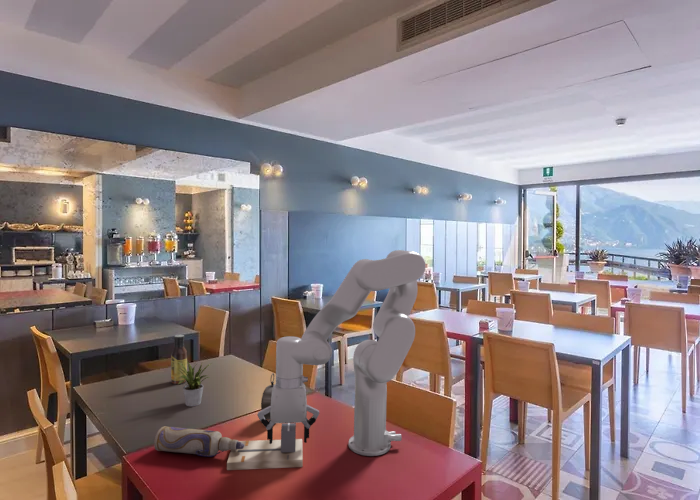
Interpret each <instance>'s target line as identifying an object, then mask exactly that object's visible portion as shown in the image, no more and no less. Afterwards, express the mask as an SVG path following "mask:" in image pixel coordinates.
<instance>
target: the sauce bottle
mask: <svg viewBox="0 0 700 500" xmlns="http://www.w3.org/2000/svg"><path fill="white" fill-rule="evenodd" d="M173 340H174V343H173V348H172V351H171V353H170V380H171V384H173V385H178V384H179V382H180V381H182V380H185V379H182V377H181V376H182V375H183V374H184V375H186V374H187V373H186V374H185V373H184V372H183V371H182V370H184V368H183V366H182V365H181V364H183V365H184V367H185V369H186V370H187V371H188V363H187V361H188V350H187V348H186V347H185V335H184V334H175V335H174V336H173ZM178 362H179V363H178ZM180 363H181V364H180ZM179 368H180V369H179ZM181 369H182V370H181ZM180 371H181V372H182V373H183V374H182V373H181V372H180ZM184 371H185V370H184ZM185 372H186V371H185ZM186 376H187V375H186ZM175 379H178V380H175ZM184 383H187V381H186V380H185V381H184ZM184 383H183V382H182V383H180V384H181V385H182V384H184ZM180 384H179V385H180Z"/></svg>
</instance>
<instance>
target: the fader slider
mask: <svg viewBox="0 0 700 500" xmlns="http://www.w3.org/2000/svg"><path fill="white" fill-rule="evenodd" d="M296 428H297V423H281V429H280V440H281V453H283V452H295V445H296V439H297V438H296V437H297V434H296V431H297V429H296Z"/></svg>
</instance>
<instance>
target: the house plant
mask: <svg viewBox="0 0 700 500" xmlns="http://www.w3.org/2000/svg"><path fill="white" fill-rule="evenodd" d="M178 363H179V362H178ZM180 364H181V363H180ZM197 364H198V363H197ZM197 364H196V363H194V366H193V367H192V364H190V362H189V361H188V360H187V370H186V369H185V367H184V365H183V364H181V365H182V366H183V368H184V370H185V371H186V372H185V371H184V370H182V369H181V370H182V371H183V372H184V373H185V374H186V373H187V374H186V375H187V376H186V375H184V374H183V373H182V372H181V371H180V372H181V373H182V374H183V375H182V376H181V377H182V379H185V380H186V382H184V381H185V380H182V381H180V382H179V384H177V385H178V386H179V385H180V383H181V384H185V386H183V387H182V390H183V396H184V402H185V406H187V407H196V406H199V405H201V402H202V398H203V397H202V396H203V392H204V391H203V390H204V385H203V384H202V382H203V381H205V379H209V378H210V377H209V376H208V375H205V374H204V375H202V373H203V372H204V371H205V370H206V369H207V368H208V367H209V366H210V365H212V364H213V362H211V363H209V364H207V365H206V366H205V367H203V368H202V365H203V363H201V364H200V366H199V368H198V370H197V371H196V372H195V367H196V365H197ZM179 369H180V368H179ZM202 378H203V379H202ZM175 380H178V379H175ZM182 382H183V383H182ZM186 383H187V384H186Z"/></svg>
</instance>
